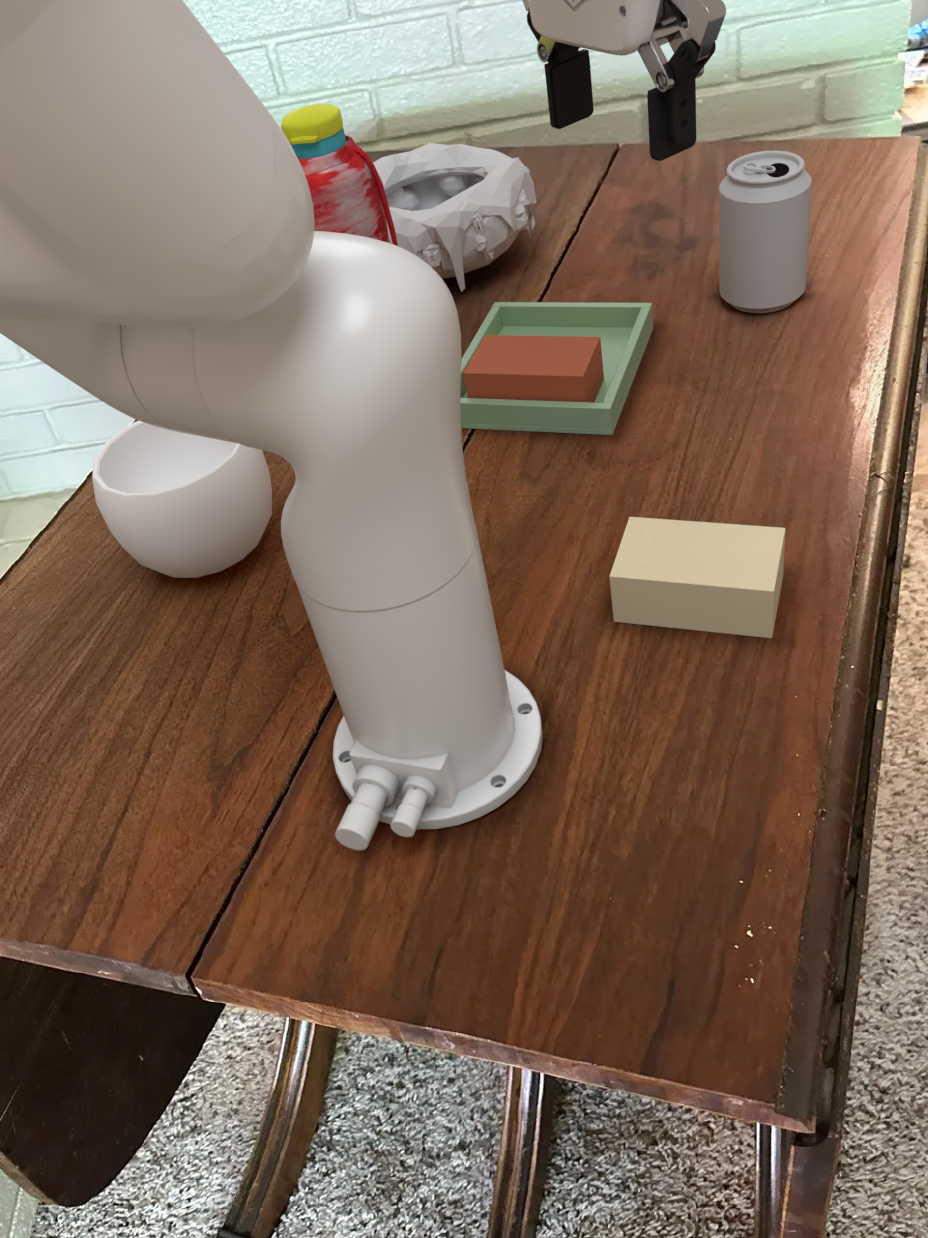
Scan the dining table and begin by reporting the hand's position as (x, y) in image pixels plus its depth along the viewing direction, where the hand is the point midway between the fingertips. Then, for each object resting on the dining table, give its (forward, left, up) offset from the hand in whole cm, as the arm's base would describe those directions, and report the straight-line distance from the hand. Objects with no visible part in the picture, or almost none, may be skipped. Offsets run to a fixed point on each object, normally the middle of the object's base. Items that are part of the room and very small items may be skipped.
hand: (620, 136), depth 68 cm
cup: (-17, +30, -24) cm, 41 cm away
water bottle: (+3, +25, -24) cm, 34 cm away
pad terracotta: (+5, +10, -23) cm, 25 cm away
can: (+23, -6, -24) cm, 34 cm away
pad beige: (-17, -7, -23) cm, 30 cm away
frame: (+9, +10, -23) cm, 27 cm away
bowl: (+29, +27, -24) cm, 46 cm away
